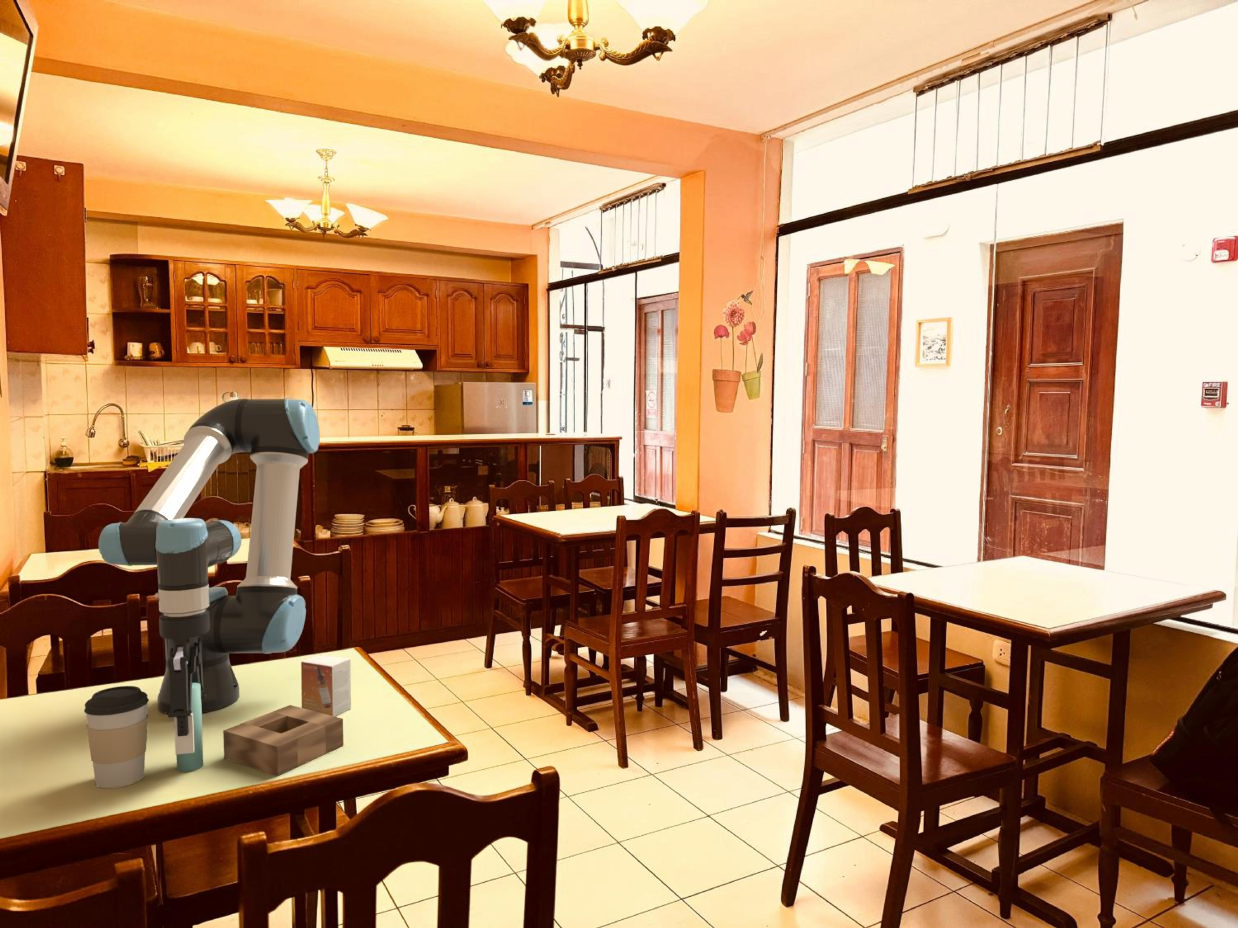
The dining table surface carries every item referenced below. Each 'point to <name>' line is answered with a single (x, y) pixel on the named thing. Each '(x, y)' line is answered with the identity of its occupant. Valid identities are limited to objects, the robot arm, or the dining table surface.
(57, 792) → the dining table surface
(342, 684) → the small box
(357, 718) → the dining table surface
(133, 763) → the coffee cup
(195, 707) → the peg
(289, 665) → the dining table surface
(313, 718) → the socket
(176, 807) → the dining table surface
